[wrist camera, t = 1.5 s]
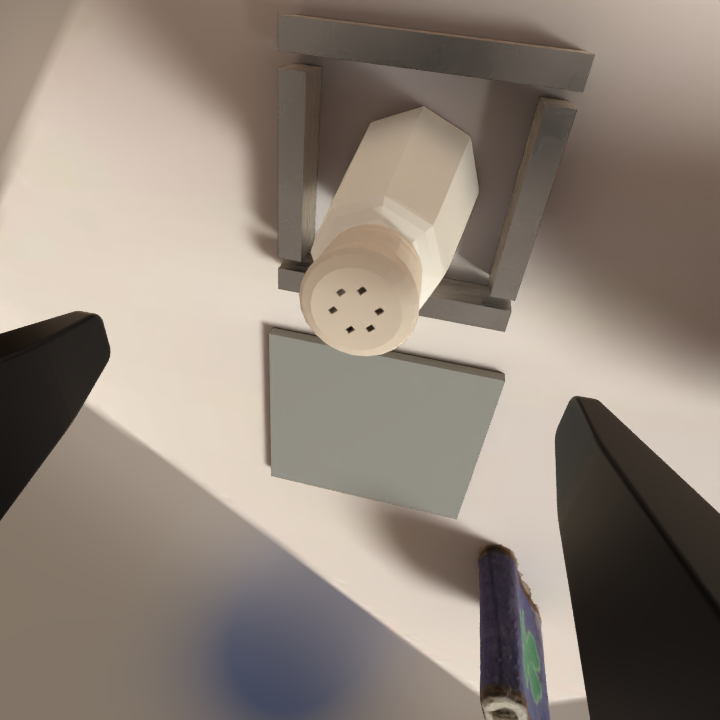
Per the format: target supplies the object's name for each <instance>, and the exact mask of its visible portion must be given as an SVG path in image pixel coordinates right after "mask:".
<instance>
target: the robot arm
mask: <svg viewBox="0 0 720 720" xmlns="http://www.w3.org/2000/svg"><path fill="white" fill-rule="evenodd" d="M109 358H110V345H109V342H108V338H107V334H106V331H105V327H104V323H103V320H102V318H101V317H100V316H99V315H97V314H94V313H88V312H83V311H75V312H71V313H68V314H65V315H61V316H58V317H55V318H51V319H48V320H45V321H41V322H38V323H35V324H31V325H28V326H24V327H21V328H18V329H14V330H11V331H8V332H4V333H1V334H0V520H1V519H2V518H3V516H4V515H5V514H6V512H7V511H8V510H9V508H10V507H11V506H12V504H13V503H14V502H15V500H16V499H17V497H18V496H19V495H20V493H21V492H22V491H23V489H24V488H25V487H26V485H27V484H28V482H29V481H30V479H31V478H32V477H33V476H34V474H35V473H36V472H37V470H38V469H39V468H40V466H41V465H42V463H43V462H44V461H45V459H46V458H47V457H48V455H49V454H50V453H51V451H52V450H53V448H54V447H55V446H56V444H57V443H58V442H59V440H60V439H61V437H62V436H63V435H64V434H65V432H66V431H67V429H68V428H69V426H70V425H71V423H72V422H73V421H74V419H75V417H76V416H77V414H78V412H79V411H80V409H81V407H82V406H83V404H84V402H85V400H86V399H87V397H88V395H89V394H90V392H91V390H92V388H93V387H94V385H95V383H96V382H97V380H98V378H99V376H100V375H101V373H102V371H103V370H104V368H105V366H106V364H107V363H108V361H109ZM555 457H556V487H557V511H558V521H559V529H560V535H561V541H562V547H563V553H564V560H565V566H566V572H567V578H568V584H569V591H570V597H571V603H572V609H573V616H574V622H575V628H576V634H577V640H578V647H579V653H580V659H581V665H582V671H583V678H584V684H585V690H586V696H587V703H588V709H589V714H590V720H720V513H718V512H717V511H716V510H715V509H714V508H713V507H712V506H711V505H710V504H709V503H708V502H707V501H706V500H705V499H704V498H702V497H701V496H700V495H699V494H698V493H697V492H696V491H695V490H694V489H693V488H692V487H691V486H690V485H689V484H687V483H686V482H685V481H684V480H683V479H682V478H681V477H680V476H679V475H678V474H677V473H676V472H675V471H674V470H673V469H671V468H670V467H669V466H668V465H667V464H666V463H665V462H664V461H663V460H662V459H661V458H660V457H659V456H658V455H657V454H655V453H654V452H653V451H652V450H651V449H650V448H649V447H648V446H647V445H646V444H645V443H644V442H643V441H642V440H640V439H639V438H638V437H637V436H636V435H635V434H634V433H633V432H632V431H631V430H630V429H629V428H628V427H627V426H626V425H624V424H623V423H622V422H621V421H620V420H619V419H618V418H617V417H616V416H615V415H614V414H613V413H612V412H611V411H610V410H608V409H607V408H606V407H605V406H604V405H603V404H602V403H601V402H600V401H598V400H597V399H592V398H586V397H581V396H575V397H572V399H571V400H570V401H569V403H568V405H567V408H566V410H565V412H564V414H563V416H562V419H561V421H560V423H559V425H558V428H557V431H556V435H555Z"/></svg>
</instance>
